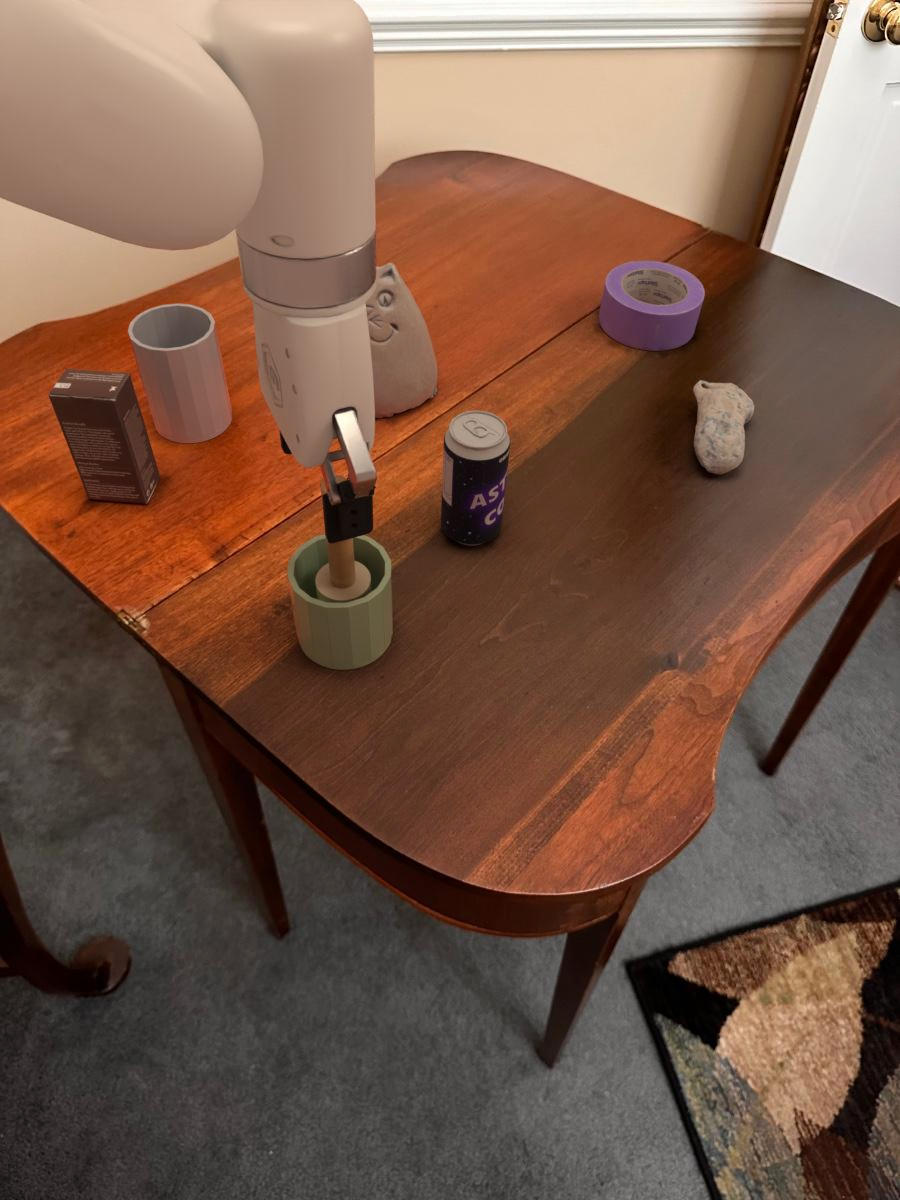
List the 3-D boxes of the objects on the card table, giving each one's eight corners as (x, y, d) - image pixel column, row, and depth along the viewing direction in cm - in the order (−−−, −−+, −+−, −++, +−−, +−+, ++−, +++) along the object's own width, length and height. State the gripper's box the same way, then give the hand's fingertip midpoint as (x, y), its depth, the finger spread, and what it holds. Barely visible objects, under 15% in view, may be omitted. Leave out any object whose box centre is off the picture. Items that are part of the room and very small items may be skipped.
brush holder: (315, 682, 70) (306, 620, 64) (285, 612, 75) (274, 547, 69) (407, 651, 72) (406, 588, 66) (372, 585, 77) (369, 520, 71)
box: (162, 474, 86) (131, 371, 76) (147, 506, 83) (114, 402, 73) (102, 469, 86) (64, 365, 77) (85, 500, 83) (44, 396, 74)
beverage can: (467, 560, 79) (474, 459, 70) (428, 525, 82) (430, 424, 73) (512, 533, 82) (525, 432, 73) (473, 500, 85) (481, 399, 75)
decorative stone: (755, 486, 87) (771, 447, 83) (688, 478, 88) (701, 438, 84) (746, 406, 96) (760, 367, 92) (685, 399, 96) (697, 360, 92)
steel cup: (163, 451, 88) (137, 358, 79) (147, 405, 93) (120, 312, 84) (241, 432, 90) (223, 340, 82) (221, 388, 95) (202, 296, 86)
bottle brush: (331, 653, 71) (314, 512, 59) (314, 615, 74) (294, 472, 62) (381, 637, 73) (375, 496, 60) (362, 600, 75) (353, 457, 63)
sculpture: (335, 430, 91) (324, 300, 79) (308, 367, 98) (294, 239, 86) (451, 407, 94) (456, 278, 83) (416, 347, 101) (416, 221, 90)
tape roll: (697, 355, 102) (708, 317, 98) (598, 346, 103) (605, 308, 99) (691, 302, 110) (701, 264, 106) (598, 293, 110) (605, 256, 106)
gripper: (202, 200, 52) (239, 429, 65) (290, 355, 42) (313, 590, 55) (322, 183, 54) (335, 408, 67) (433, 327, 44) (423, 559, 57)
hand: (325, 490), depth 61 cm, fingers open, 9 cm apart
